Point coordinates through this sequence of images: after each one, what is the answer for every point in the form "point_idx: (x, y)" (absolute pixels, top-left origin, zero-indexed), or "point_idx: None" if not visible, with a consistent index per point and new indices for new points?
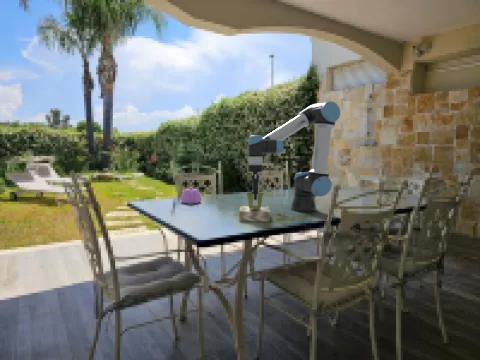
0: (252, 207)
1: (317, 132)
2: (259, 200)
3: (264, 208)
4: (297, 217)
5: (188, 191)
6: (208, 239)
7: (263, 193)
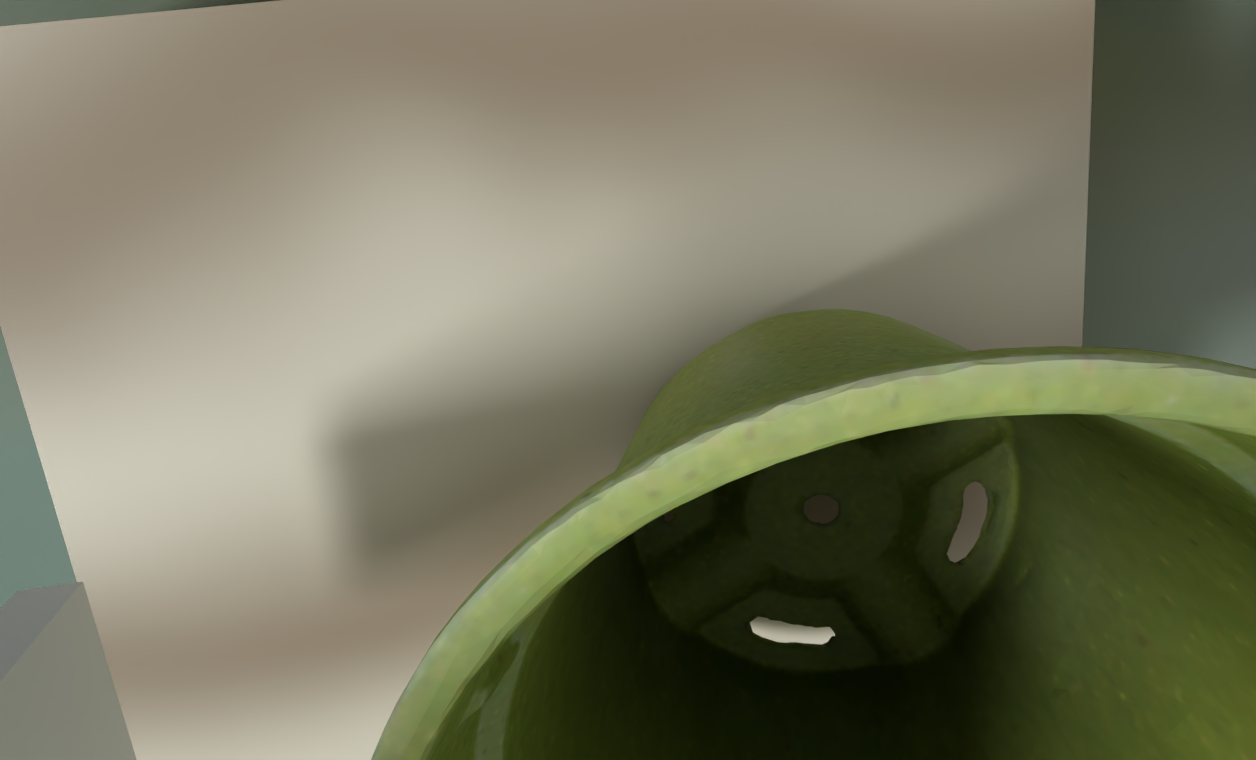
0: (1016, 582)
1: None
2: (1137, 448)
3: (450, 180)
4: None
5: None
6: None
7: (1064, 373)
